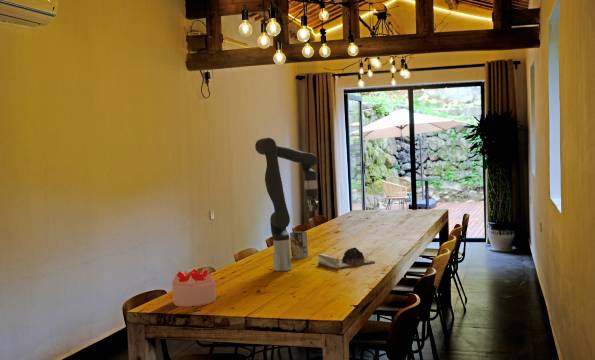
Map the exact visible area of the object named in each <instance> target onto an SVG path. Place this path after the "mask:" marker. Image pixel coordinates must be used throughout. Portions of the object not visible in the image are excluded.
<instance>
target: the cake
mask: <svg viewBox="0 0 595 360" xmlns="http://www.w3.org/2000/svg"><path fill="white" fill-rule="evenodd" d="M171 284H172V285H171V287H172V288H171V289H172V300H173V301H172V302H173V305H174V306H175V307H180V308H181V307H182V308H191V307H192V306H194V307H200V306H206V305H208V304H212V303H213V302H215V301H216V300H217V291H216V280H215V279H214V277H213V276H212V275H211V271H209V269H205V268H202V271H201V272H200V271H199V270H198V269H196V268H194V269H193V270H192V271H191V272H189V273H188V272H187V270H185V271H184V273H183V272H182V271H178V272H177V273H176V274H175V276H174V278H173V280H172V281H171ZM192 308H193V307H192Z"/></svg>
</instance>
